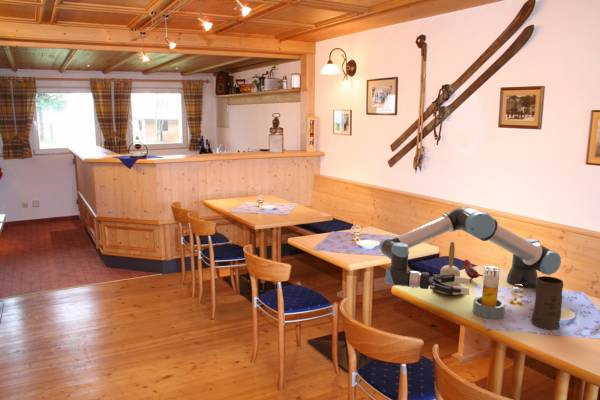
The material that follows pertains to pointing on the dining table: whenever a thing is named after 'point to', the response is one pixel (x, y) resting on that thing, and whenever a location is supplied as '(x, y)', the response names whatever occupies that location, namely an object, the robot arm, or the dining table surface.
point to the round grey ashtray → (488, 309)
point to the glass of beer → (490, 291)
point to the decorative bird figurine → (470, 270)
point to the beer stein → (547, 302)
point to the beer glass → (491, 272)
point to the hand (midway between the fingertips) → (469, 286)
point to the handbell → (451, 269)
